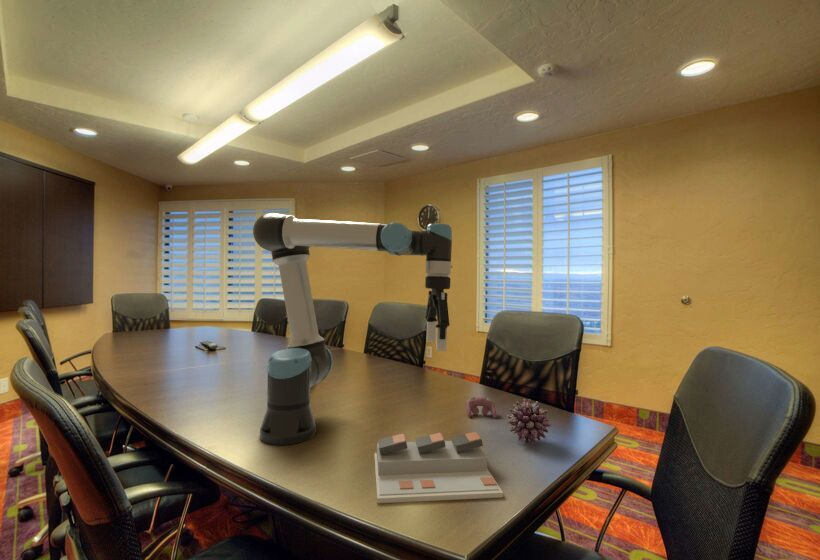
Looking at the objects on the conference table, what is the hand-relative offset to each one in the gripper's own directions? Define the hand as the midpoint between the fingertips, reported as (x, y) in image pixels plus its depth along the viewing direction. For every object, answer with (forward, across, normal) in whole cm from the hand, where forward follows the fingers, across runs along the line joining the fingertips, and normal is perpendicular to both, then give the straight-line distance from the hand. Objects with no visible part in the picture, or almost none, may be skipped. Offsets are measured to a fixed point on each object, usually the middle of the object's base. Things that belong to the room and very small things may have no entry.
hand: (435, 346), depth 116 cm
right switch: (+19, -24, -3) cm, 30 cm away
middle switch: (+19, -23, +6) cm, 31 cm away
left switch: (+19, -23, +15) cm, 33 cm away
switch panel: (+25, -27, +6) cm, 37 cm away
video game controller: (+25, +9, -18) cm, 32 cm away
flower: (+25, -13, -24) cm, 37 cm away
